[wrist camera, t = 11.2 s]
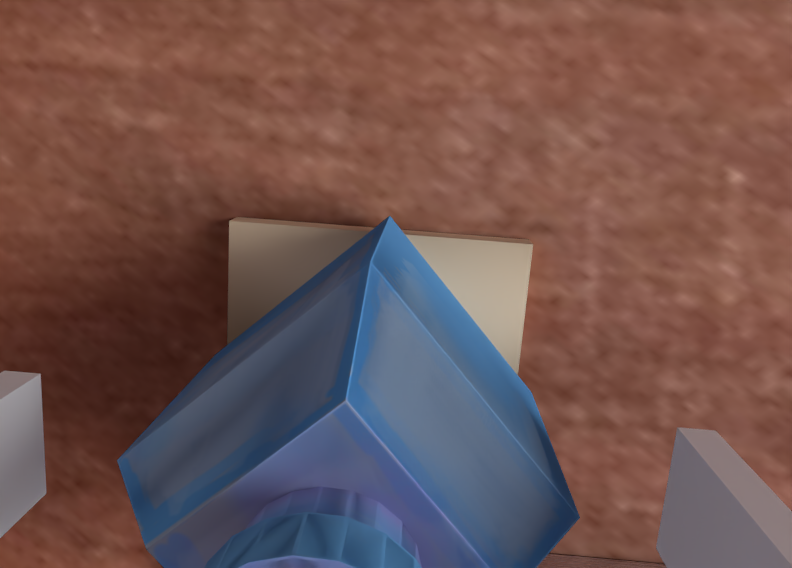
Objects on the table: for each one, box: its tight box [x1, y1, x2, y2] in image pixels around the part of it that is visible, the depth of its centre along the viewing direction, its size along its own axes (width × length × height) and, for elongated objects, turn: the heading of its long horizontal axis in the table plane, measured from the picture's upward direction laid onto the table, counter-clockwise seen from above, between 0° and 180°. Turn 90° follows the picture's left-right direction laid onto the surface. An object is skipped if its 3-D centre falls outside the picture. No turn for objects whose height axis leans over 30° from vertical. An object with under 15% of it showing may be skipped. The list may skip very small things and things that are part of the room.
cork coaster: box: [227, 217, 533, 375], centre depth 19 cm, size 8×8×1 cm
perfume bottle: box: [117, 216, 580, 568], centre depth 13 cm, size 6×6×12 cm
